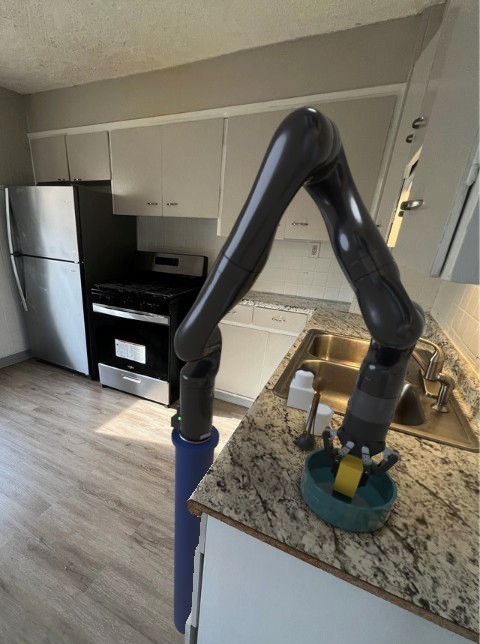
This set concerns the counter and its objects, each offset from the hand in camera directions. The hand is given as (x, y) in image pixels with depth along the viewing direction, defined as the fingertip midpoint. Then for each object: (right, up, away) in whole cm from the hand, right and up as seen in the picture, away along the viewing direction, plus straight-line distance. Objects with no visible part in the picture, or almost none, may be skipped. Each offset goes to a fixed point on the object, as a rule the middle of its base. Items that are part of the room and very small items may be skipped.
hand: (347, 479), depth 65 cm
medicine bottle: (+2, +11, +36) cm, 38 cm away
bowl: (0, -4, +2) cm, 5 cm away
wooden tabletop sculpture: (-2, +3, +17) cm, 18 cm away
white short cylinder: (+3, +6, +23) cm, 24 cm away
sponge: (0, -2, +1) cm, 2 cm away
